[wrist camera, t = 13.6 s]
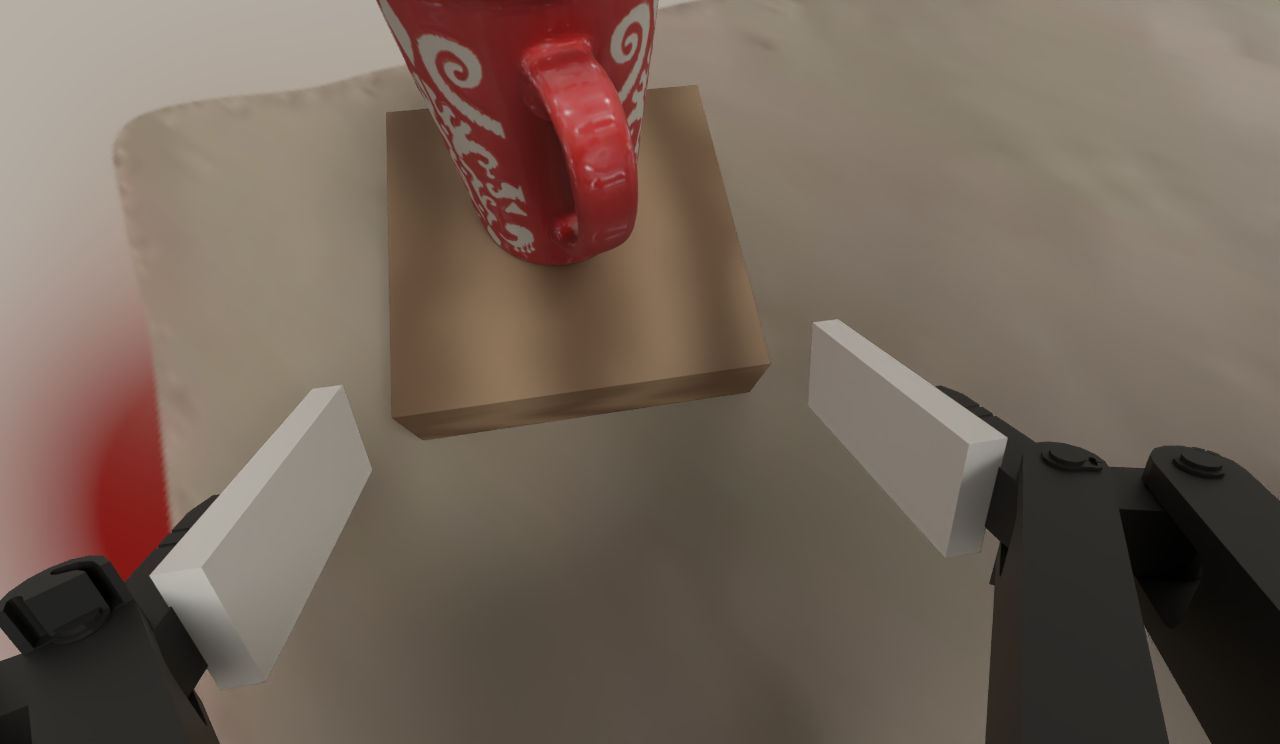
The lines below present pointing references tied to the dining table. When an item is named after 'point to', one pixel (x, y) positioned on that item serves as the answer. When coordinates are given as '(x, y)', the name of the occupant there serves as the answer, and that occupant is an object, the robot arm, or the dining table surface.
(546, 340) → the walnut stand
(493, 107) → the mug
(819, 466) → the dining table surface
